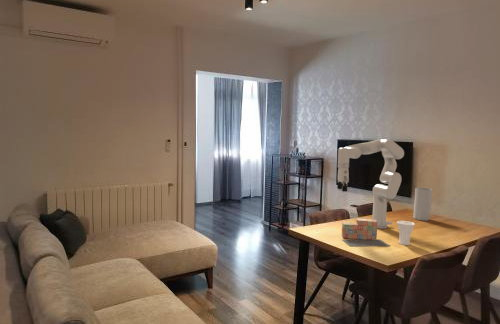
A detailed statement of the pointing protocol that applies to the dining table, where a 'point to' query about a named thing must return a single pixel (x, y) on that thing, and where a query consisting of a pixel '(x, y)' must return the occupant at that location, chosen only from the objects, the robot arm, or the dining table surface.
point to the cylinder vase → (422, 204)
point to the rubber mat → (366, 242)
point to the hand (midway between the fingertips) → (342, 190)
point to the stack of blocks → (360, 229)
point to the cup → (405, 231)
